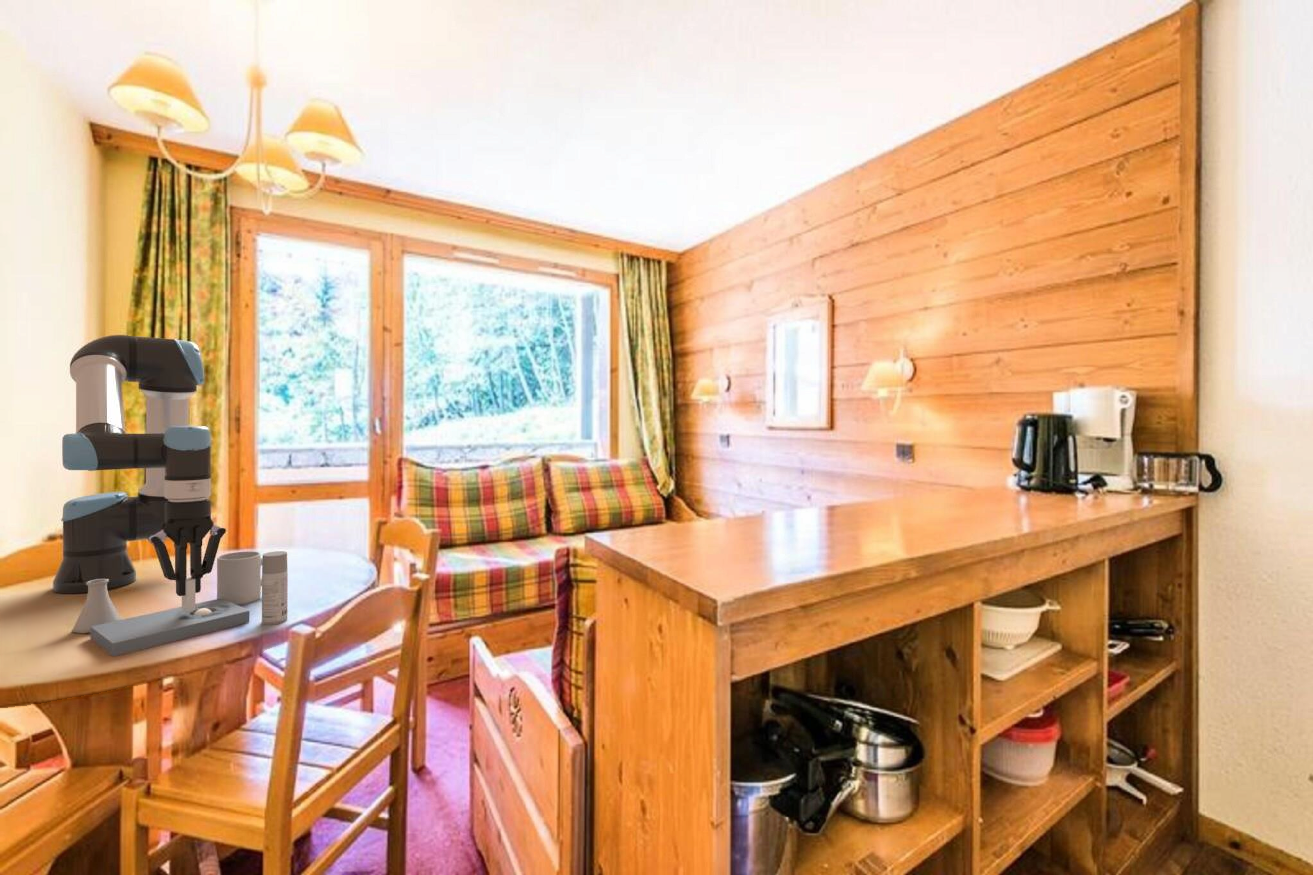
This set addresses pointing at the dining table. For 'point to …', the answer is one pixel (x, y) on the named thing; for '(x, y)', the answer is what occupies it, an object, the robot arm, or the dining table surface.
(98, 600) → the flask
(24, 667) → the dining table surface
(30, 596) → the dining table surface
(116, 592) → the dining table surface
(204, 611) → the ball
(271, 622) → the container
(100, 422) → the robot arm
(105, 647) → the plate
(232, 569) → the mug
